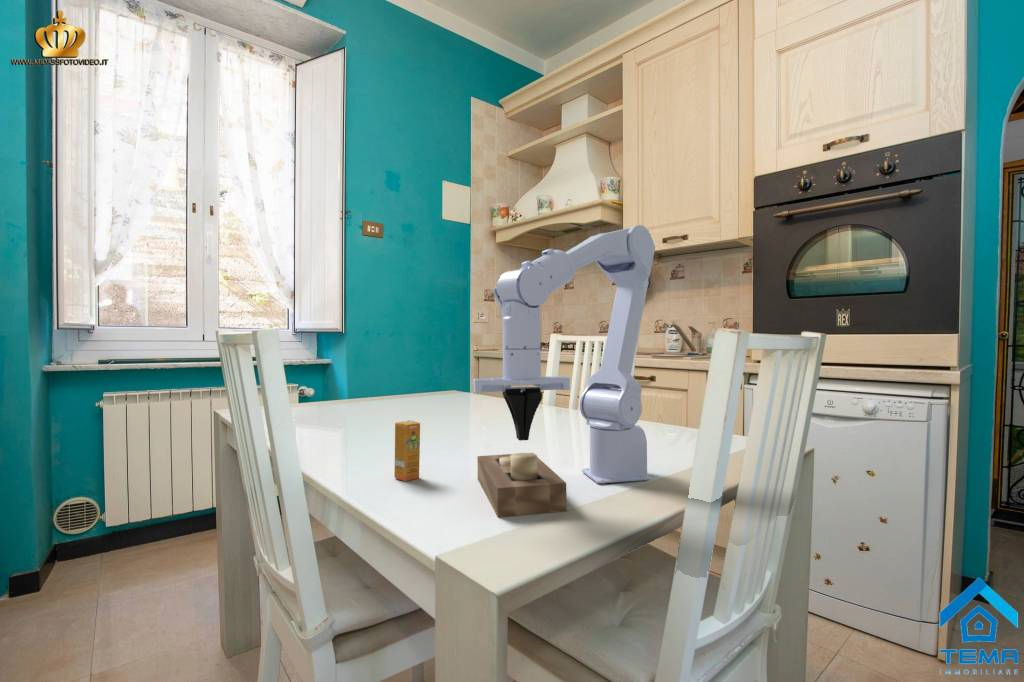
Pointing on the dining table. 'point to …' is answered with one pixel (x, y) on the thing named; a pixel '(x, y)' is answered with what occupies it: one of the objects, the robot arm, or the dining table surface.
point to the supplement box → (407, 450)
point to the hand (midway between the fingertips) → (522, 439)
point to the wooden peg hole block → (520, 488)
